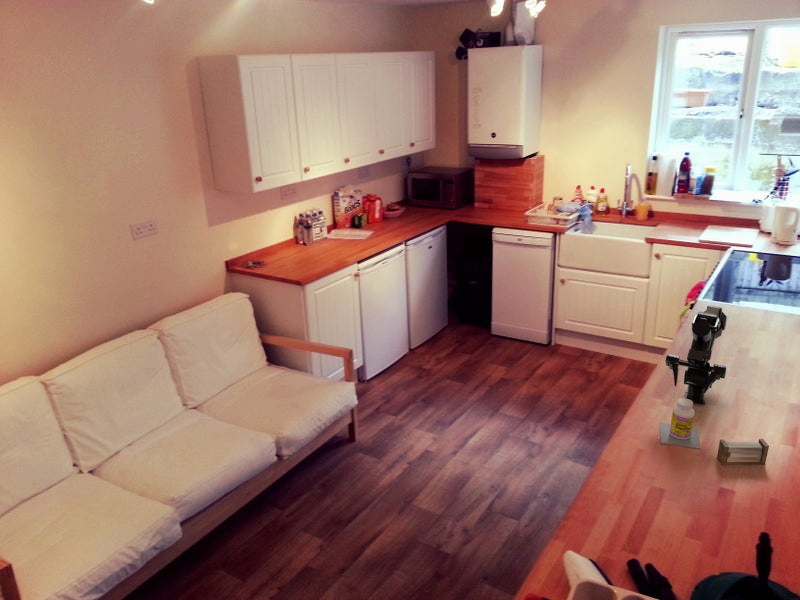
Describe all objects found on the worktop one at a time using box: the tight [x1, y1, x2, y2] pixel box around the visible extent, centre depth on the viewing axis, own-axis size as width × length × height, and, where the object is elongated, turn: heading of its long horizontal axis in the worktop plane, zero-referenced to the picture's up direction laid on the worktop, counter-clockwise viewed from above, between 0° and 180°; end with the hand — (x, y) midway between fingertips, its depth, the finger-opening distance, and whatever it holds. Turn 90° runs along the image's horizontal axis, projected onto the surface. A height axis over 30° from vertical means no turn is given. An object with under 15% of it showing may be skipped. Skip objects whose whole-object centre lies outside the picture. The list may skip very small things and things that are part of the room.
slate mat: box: [659, 422, 701, 450], centre depth 218 cm, size 12×12×1 cm
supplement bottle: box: [670, 397, 696, 440], centre depth 216 cm, size 7×7×13 cm
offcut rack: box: [716, 438, 770, 467], centre depth 204 cm, size 4×13×7 cm, turn 88°
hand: (689, 389), depth 219 cm, fingers open, 9 cm apart
